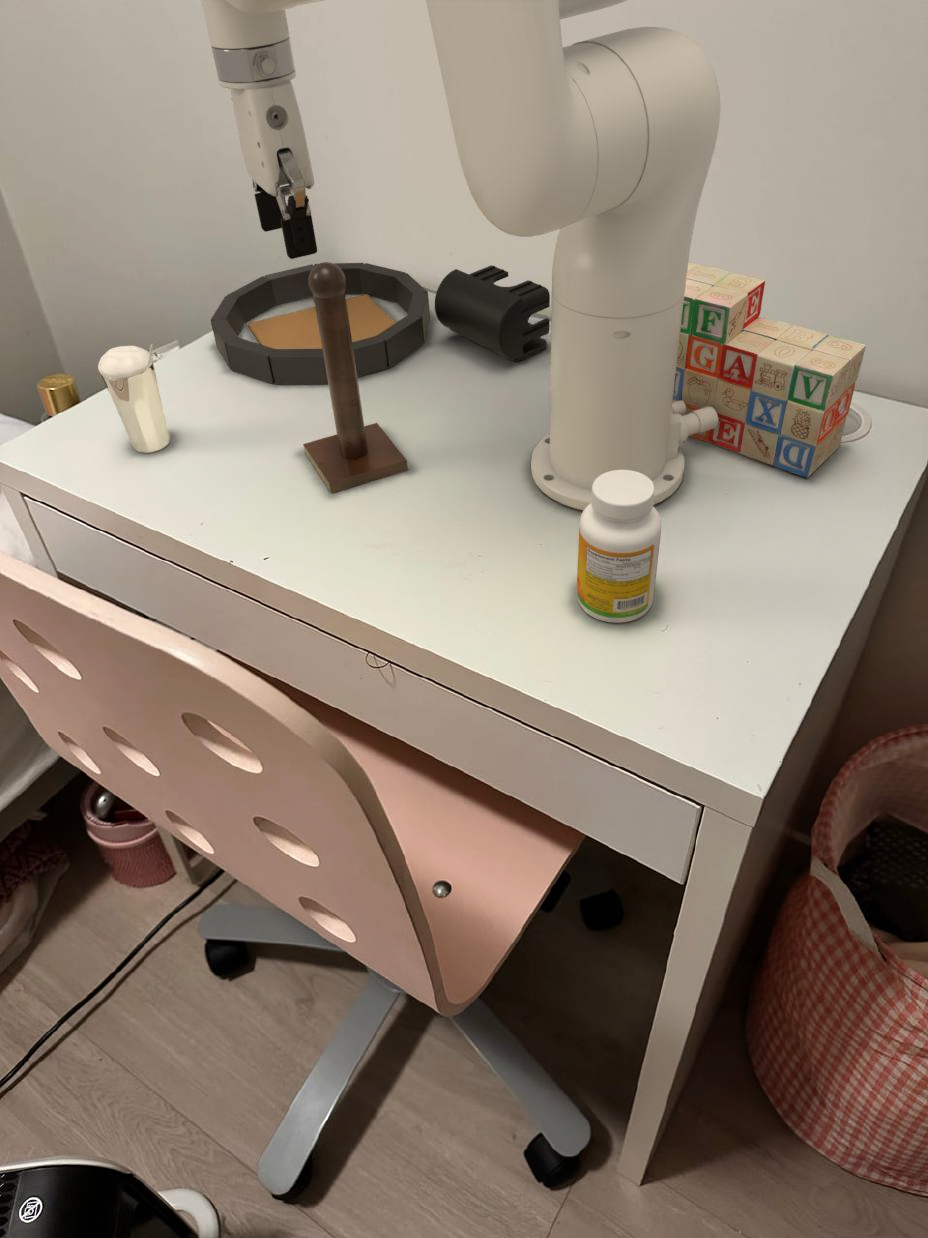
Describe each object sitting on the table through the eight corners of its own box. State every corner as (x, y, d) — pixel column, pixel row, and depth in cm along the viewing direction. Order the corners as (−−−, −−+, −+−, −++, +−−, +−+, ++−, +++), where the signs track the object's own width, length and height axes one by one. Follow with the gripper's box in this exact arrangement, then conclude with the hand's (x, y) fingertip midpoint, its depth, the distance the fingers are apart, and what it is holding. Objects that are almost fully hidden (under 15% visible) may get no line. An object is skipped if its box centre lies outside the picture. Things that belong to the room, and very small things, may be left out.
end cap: (436, 341, 96) (430, 277, 92) (487, 318, 100) (484, 256, 95) (500, 374, 91) (498, 307, 86) (552, 349, 94) (553, 283, 89)
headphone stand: (378, 432, 84) (352, 238, 72) (408, 469, 79) (385, 269, 68) (304, 453, 82) (265, 258, 70) (331, 493, 77) (293, 291, 66)
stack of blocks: (841, 446, 78) (878, 307, 70) (807, 481, 75) (842, 338, 67) (628, 374, 89) (638, 245, 81) (590, 401, 86) (596, 270, 77)
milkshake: (172, 459, 83) (139, 356, 76) (117, 455, 84) (80, 353, 77) (193, 432, 86) (163, 330, 79) (140, 428, 87) (106, 327, 80)
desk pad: (367, 297, 105) (366, 293, 105) (408, 338, 97) (407, 335, 97) (248, 326, 101) (247, 323, 101) (280, 372, 93) (279, 369, 93)
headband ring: (382, 273, 110) (379, 247, 108) (462, 348, 95) (460, 320, 93) (198, 317, 104) (191, 291, 102) (253, 406, 89) (246, 377, 87)
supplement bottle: (597, 566, 69) (604, 454, 62) (665, 589, 66) (679, 476, 60) (563, 609, 66) (565, 496, 59) (633, 635, 63) (644, 520, 57)
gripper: (319, 71, 85) (348, 258, 97) (266, 42, 97) (297, 212, 109) (240, 86, 83) (279, 275, 95) (196, 54, 95) (235, 225, 106)
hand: (289, 241), depth 102 cm, fingers open, 9 cm apart
